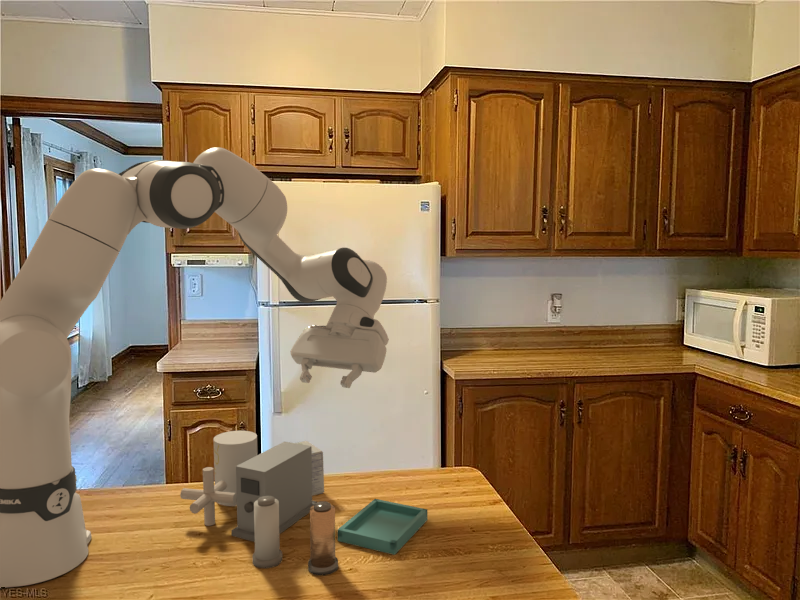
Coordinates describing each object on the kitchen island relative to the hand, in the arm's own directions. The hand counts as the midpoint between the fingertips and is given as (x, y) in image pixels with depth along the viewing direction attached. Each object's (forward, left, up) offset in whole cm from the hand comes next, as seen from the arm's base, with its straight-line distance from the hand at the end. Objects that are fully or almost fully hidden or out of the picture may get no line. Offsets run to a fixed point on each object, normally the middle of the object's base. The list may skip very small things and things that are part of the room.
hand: (324, 383), depth 127 cm
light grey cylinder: (-13, -11, -22) cm, 28 cm away
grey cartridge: (+7, -28, -21) cm, 36 cm away
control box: (0, -16, -21) cm, 27 cm away
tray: (+19, -11, -21) cm, 31 cm away
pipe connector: (-10, -22, -22) cm, 33 cm away
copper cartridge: (+16, -26, -21) cm, 38 cm away
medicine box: (-3, -2, -22) cm, 22 cm away
